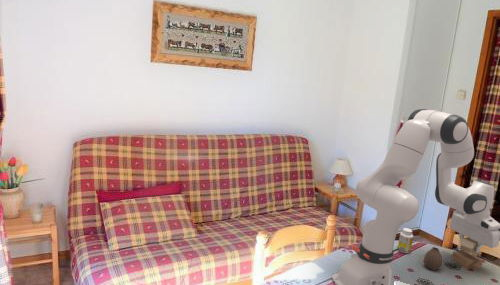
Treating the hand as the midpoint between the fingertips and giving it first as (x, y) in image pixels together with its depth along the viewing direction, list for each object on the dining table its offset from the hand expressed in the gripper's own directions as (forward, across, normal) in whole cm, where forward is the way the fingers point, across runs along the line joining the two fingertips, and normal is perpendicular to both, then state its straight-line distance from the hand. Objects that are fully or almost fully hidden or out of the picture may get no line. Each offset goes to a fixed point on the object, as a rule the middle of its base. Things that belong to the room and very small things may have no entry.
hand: (469, 247), depth 161 cm
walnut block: (+8, 0, 0) cm, 8 cm away
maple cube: (+2, 0, 0) cm, 2 cm away
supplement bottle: (+8, -17, -19) cm, 27 cm away
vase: (+8, -2, -19) cm, 21 cm away
